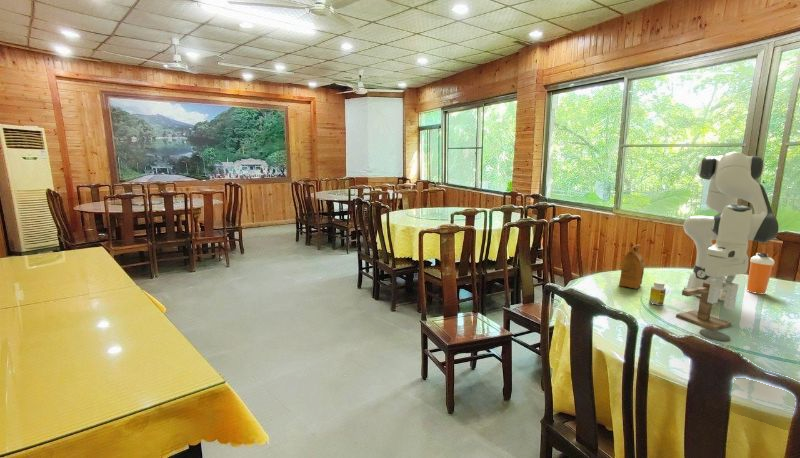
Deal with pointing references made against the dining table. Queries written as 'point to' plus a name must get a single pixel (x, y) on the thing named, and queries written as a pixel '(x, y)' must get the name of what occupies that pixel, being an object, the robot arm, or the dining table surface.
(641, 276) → the coffee package
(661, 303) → the supplement bottle
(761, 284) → the shaker bottle
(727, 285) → the c link
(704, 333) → the felt pad
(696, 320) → the hook stand
